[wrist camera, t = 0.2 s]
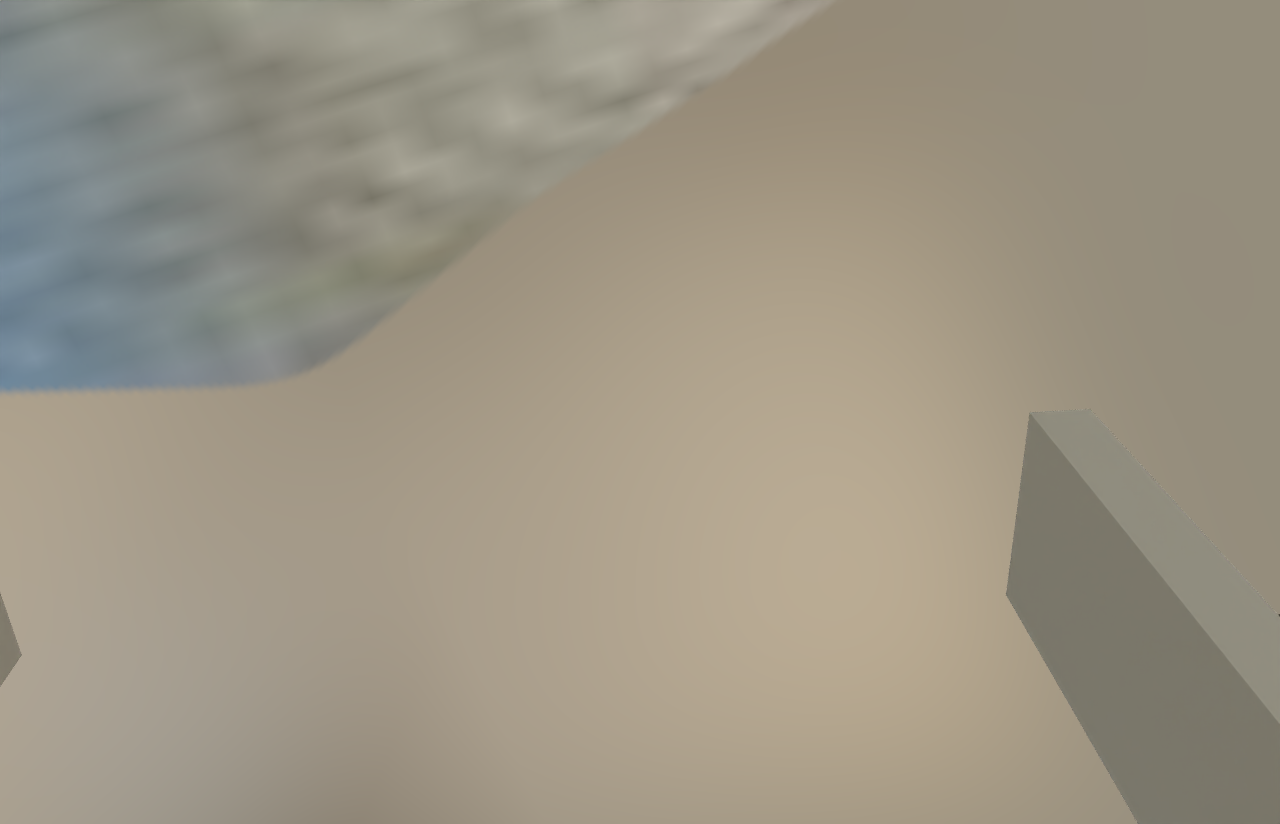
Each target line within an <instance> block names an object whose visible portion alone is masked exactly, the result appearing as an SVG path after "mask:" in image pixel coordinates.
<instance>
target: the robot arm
mask: <svg viewBox="0 0 1280 824" xmlns="http://www.w3.org/2000/svg"><path fill="white" fill-rule="evenodd" d="M1006 595H1007V597H1008V599H1009V601H1010V602H1011V604H1012V606H1013V608H1014V609H1015V611H1016V613H1017V614H1018V616H1019V618H1020V620H1021V621H1022V623H1023V625H1024V626H1025V628H1026V630H1027V632H1028V634H1029V635H1030V637H1031V639H1032V641H1033V642H1034V644H1035V646H1036V648H1037V649H1038V651H1039V652H1040V654H1041V656H1042V658H1043V660H1044V661H1045V663H1046V665H1047V666H1048V668H1049V670H1050V672H1051V674H1052V675H1053V677H1054V679H1055V680H1056V682H1057V684H1058V686H1059V687H1060V689H1061V691H1062V693H1063V694H1064V696H1065V698H1066V699H1067V701H1068V703H1069V705H1070V706H1071V708H1072V710H1073V711H1074V713H1075V715H1076V717H1077V719H1078V720H1079V722H1080V724H1081V725H1082V727H1083V729H1084V731H1085V732H1086V734H1087V736H1088V738H1089V739H1090V741H1091V743H1092V745H1093V746H1094V748H1095V750H1096V752H1097V753H1098V755H1099V757H1100V758H1101V760H1102V762H1103V764H1104V765H1105V767H1106V769H1107V771H1108V772H1109V774H1110V776H1111V778H1112V779H1113V781H1114V783H1115V784H1116V786H1117V788H1118V790H1119V791H1120V793H1121V795H1122V797H1123V798H1124V800H1125V802H1126V803H1127V805H1128V807H1129V809H1130V811H1131V812H1132V814H1133V816H1134V817H1135V819H1136V820H1137V823H1138V824H1280V614H1279V615H1278V614H1277V613H1276V612H1275V611H1274V610H1273V608H1271V606H1270V605H1269V604H1268V603H1267V602H1266V601H1265V600H1264V599H1263V598H1262V596H1261V595H1260V594H1259V593H1258V592H1257V591H1256V590H1255V589H1254V588H1253V587H1252V585H1251V584H1250V583H1249V582H1248V581H1247V580H1246V579H1245V578H1244V577H1243V576H1242V575H1241V573H1240V572H1239V571H1238V570H1237V569H1236V568H1235V567H1234V566H1233V565H1232V564H1231V562H1230V561H1229V560H1228V559H1227V558H1226V557H1225V556H1224V555H1223V554H1222V553H1221V551H1220V550H1219V549H1218V548H1217V547H1216V546H1215V545H1214V544H1213V543H1212V542H1211V541H1210V539H1209V538H1208V537H1207V536H1206V535H1205V534H1204V533H1203V532H1202V531H1201V530H1200V529H1199V527H1198V526H1197V525H1196V524H1195V523H1194V522H1193V521H1192V520H1191V519H1190V518H1189V517H1188V515H1187V514H1186V513H1185V512H1184V511H1183V510H1182V509H1181V508H1180V507H1179V506H1178V504H1177V503H1176V502H1175V501H1174V500H1173V499H1172V498H1171V497H1170V496H1169V495H1168V494H1167V493H1166V491H1165V490H1164V489H1163V488H1162V487H1161V486H1160V485H1159V484H1158V483H1157V482H1156V480H1155V479H1154V478H1153V477H1152V476H1151V475H1150V474H1149V473H1148V472H1147V471H1146V469H1145V468H1143V466H1142V465H1141V464H1140V463H1139V462H1138V461H1137V460H1136V459H1135V458H1134V456H1132V454H1131V453H1130V452H1129V451H1128V450H1127V449H1126V448H1125V447H1124V446H1123V444H1122V443H1121V442H1120V441H1119V440H1118V439H1117V438H1116V437H1115V436H1114V435H1113V433H1112V432H1111V431H1110V430H1109V429H1108V428H1107V427H1106V426H1105V425H1104V424H1103V422H1102V421H1101V420H1100V419H1099V418H1098V417H1097V416H1096V415H1095V414H1094V413H1093V412H1092V410H1091V409H1084V410H1066V411H1049V412H1032V413H1030V415H1029V422H1028V429H1027V437H1026V445H1025V453H1024V460H1023V468H1022V476H1021V483H1020V491H1019V499H1018V507H1017V514H1016V522H1015V531H1014V538H1013V545H1012V553H1011V561H1010V569H1009V576H1008V584H1007V592H1006ZM20 657H21V652H20V649H19V646H18V643H17V640H16V637H15V634H14V632H13V629H12V626H11V623H10V620H9V617H8V614H7V612H6V609H5V606H4V603H3V600H2V597H1V594H0V686H1V685H2V683H3V682H4V680H5V679H6V677H7V676H8V674H9V673H10V671H11V670H12V668H13V667H14V666H15V664H16V663H17V661H18V659H19V658H20Z"/></svg>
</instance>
